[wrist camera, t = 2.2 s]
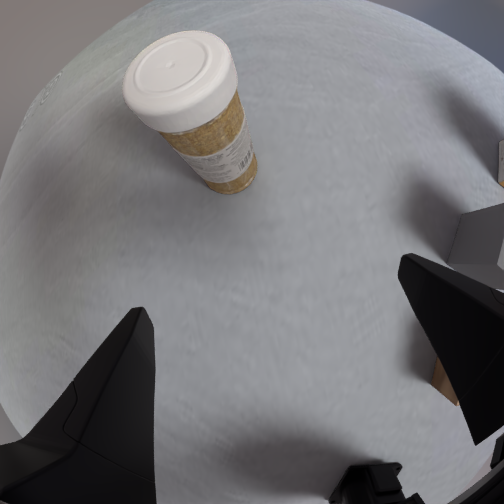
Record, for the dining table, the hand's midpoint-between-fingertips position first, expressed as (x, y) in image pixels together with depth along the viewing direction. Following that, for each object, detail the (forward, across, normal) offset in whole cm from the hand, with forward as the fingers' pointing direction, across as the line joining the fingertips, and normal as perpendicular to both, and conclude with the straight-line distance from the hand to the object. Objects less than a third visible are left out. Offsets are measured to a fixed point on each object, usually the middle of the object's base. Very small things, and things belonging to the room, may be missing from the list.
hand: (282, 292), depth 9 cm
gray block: (+7, -20, +7) cm, 22 cm away
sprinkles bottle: (+16, 0, 0) cm, 16 cm away
